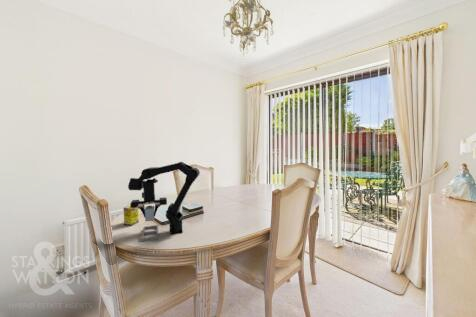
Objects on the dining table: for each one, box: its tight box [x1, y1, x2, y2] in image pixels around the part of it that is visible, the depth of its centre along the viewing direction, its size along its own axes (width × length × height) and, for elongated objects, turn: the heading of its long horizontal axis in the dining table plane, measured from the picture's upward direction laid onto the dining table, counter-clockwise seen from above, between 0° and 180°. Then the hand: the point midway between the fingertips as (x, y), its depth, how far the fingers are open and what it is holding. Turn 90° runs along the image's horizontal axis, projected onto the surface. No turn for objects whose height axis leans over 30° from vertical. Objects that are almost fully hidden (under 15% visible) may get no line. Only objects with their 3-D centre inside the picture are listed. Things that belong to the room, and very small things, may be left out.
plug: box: [144, 205, 155, 222], centre depth 119 cm, size 4×4×8 cm
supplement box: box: [123, 205, 139, 227], centre depth 130 cm, size 6×6×11 cm
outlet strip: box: [139, 224, 159, 242], centre depth 117 cm, size 9×15×2 cm, turn 19°
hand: (149, 216), depth 119 cm, fingers closed on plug, 4 cm apart
